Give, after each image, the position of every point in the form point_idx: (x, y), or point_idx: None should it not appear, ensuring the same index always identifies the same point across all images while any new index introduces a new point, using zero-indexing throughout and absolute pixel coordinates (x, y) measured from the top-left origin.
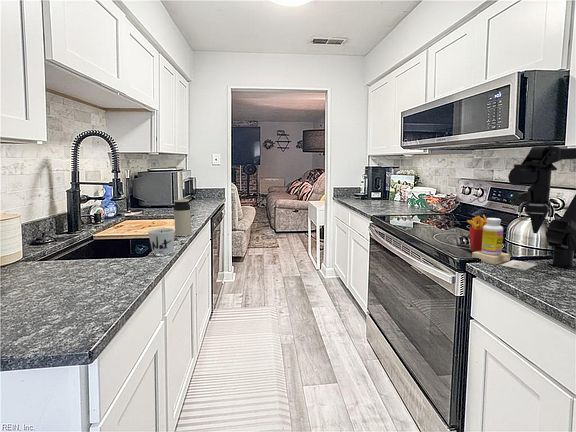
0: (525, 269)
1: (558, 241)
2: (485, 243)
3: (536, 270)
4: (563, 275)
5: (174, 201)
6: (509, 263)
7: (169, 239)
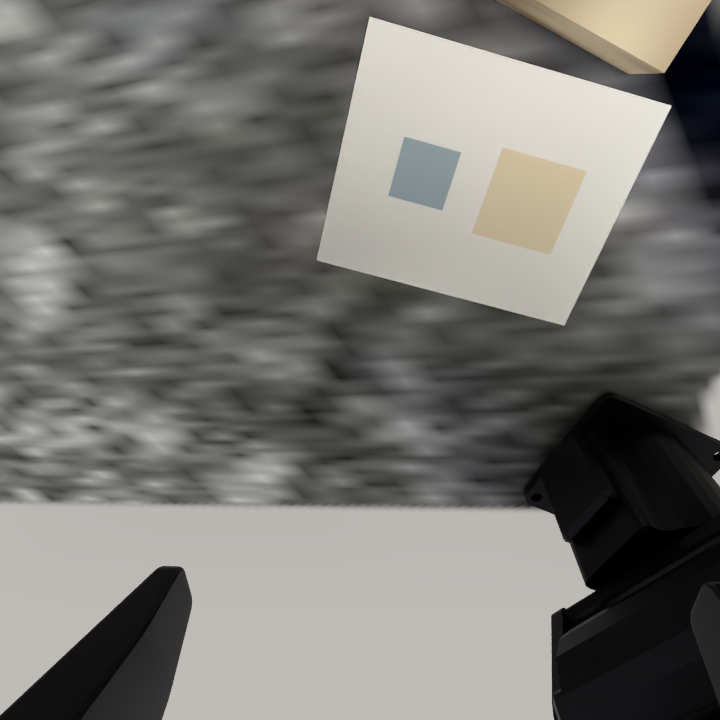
0: (324, 260)
1: (592, 628)
2: None
3: (365, 331)
4: (330, 474)
5: None
6: (484, 94)
7: None
